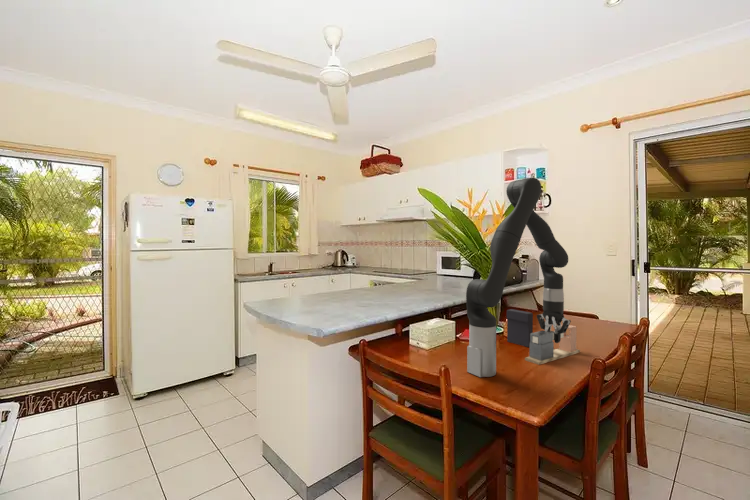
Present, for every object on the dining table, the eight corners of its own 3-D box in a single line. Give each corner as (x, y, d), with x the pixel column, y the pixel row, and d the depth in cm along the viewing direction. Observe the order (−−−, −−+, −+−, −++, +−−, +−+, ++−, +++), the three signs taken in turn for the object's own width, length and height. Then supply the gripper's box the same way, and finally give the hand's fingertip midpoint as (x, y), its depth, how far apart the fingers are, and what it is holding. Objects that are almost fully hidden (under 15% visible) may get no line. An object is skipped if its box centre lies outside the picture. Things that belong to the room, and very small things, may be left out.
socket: (570, 352, 145) (570, 327, 144) (559, 348, 149) (559, 325, 149) (576, 350, 147) (576, 326, 147) (564, 347, 151) (564, 324, 151)
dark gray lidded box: (533, 346, 156) (533, 312, 156) (528, 347, 154) (528, 313, 154) (511, 340, 166) (512, 308, 165) (506, 341, 163) (506, 309, 163)
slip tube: (538, 344, 135) (538, 337, 135) (531, 342, 138) (531, 335, 138) (564, 337, 144) (564, 330, 144) (557, 336, 146) (557, 329, 146)
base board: (539, 364, 133) (539, 362, 133) (525, 360, 138) (525, 357, 138) (580, 352, 147) (580, 349, 147) (566, 348, 153) (566, 346, 153)
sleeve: (541, 360, 134) (541, 335, 134) (529, 357, 139) (529, 333, 138) (553, 357, 139) (553, 333, 138) (541, 353, 143) (541, 330, 143)
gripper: (531, 297, 146) (531, 338, 146) (564, 302, 134) (564, 347, 134) (542, 296, 150) (542, 336, 150) (575, 300, 138) (575, 344, 138)
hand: (552, 341), depth 142 cm, fingers closed on slip tube, 3 cm apart
